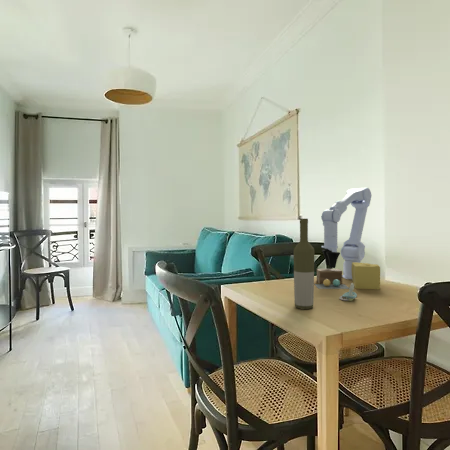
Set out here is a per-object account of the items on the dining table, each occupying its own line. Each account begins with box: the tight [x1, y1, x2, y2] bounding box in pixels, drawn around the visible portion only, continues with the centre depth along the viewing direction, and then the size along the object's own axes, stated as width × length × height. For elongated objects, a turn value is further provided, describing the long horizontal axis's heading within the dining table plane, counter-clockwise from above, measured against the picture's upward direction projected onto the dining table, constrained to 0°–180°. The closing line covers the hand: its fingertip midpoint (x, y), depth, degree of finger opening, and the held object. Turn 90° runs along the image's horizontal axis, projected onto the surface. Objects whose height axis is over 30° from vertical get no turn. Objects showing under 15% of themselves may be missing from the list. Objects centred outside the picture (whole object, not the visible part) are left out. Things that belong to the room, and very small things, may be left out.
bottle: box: [292, 218, 315, 310], centre depth 117 cm, size 7×7×30 cm
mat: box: [314, 283, 350, 290], centre depth 148 cm, size 9×13×1 cm
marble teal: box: [333, 279, 340, 286], centre depth 148 cm, size 3×3×3 cm
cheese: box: [351, 262, 381, 290], centre depth 147 cm, size 10×11×10 cm
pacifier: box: [339, 282, 358, 302], centre depth 128 cm, size 7×6×6 cm
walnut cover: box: [316, 268, 343, 284], centre depth 157 cm, size 6×10×6 cm, turn 85°
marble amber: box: [323, 279, 331, 286], centre depth 148 cm, size 3×3×3 cm
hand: (330, 266), depth 156 cm, fingers open, 7 cm apart
